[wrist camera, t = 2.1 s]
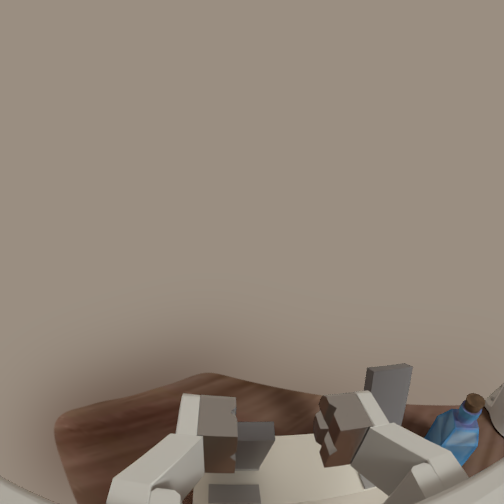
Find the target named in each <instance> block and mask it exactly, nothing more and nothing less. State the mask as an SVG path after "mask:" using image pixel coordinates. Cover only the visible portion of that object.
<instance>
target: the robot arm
mask: <svg viewBox="0 0 504 504" xmlns="http://www.w3.org/2000/svg"><path fill="white" fill-rule="evenodd" d="M484 406H485V407H486V409H487V410H488V411H489V413H490V417H491V421H492V423H493V425H494V427H495V428H496V429H497V431H498V432H499V433H500V434H501V435H502V436H504V383H503V384H502V385H501V386H500V387H499V388H498V389H497V390H496V391H494V393H492V394H491V395H490V396H489V397H488V398H487V399H486V400H485V405H484ZM319 407H320V411H319V412H318V413H317V414H316V415H315V418H314V422H313V432H314V437H315V441H316V442H317V443H318V444H320V445H321V449H320V451H319V453H320V456H321V459H322V462H323V465H324V468H327V467H335V466H342V465H349V464H351V465H350V466H351V467H353V468H354V469H355V470H356V471H357V472H359V473H360V474H361V475H362V476H364V477H365V478H366V479H367V480H368V481H370V482H371V483H372V484H374V485H375V486H376V487H377V488H379V489H380V490H381V491H383V492H384V493H385V494H386V495H388V496H389V497H388V498H387V499H386V500H385V502H384V503H383V504H504V458H502V459H501V460H499V461H497V462H496V463H494V464H493V465H491V466H489V467H488V468H486V469H484V470H483V471H481V472H479V473H477V474H476V475H474V476H472V477H470V478H469V477H468V476H467V474H466V473H465V471H464V470H463V468H462V467H461V465H460V464H459V462H458V461H457V459H456V458H455V456H454V455H453V454H452V452H451V451H449V450H447V449H445V448H443V447H441V446H439V445H437V444H434V443H432V442H430V441H428V440H426V439H424V438H422V437H420V436H418V435H417V434H415V433H413V432H411V431H409V430H407V429H405V428H403V427H401V426H399V425H397V424H396V423H389V421H388V420H387V418H386V416H385V415H384V413H383V411H382V410H381V408H380V407H379V405H378V403H377V402H376V400H375V398H374V397H373V395H372V393H371V392H370V391H368V390H366V391H358V392H353V393H343V394H332V395H323V396H322V397H321V399H320V402H319ZM237 440H238V431H237V418H236V397H223V396H210V395H195V394H185V393H183V395H182V398H181V403H180V409H179V415H178V421H177V427H176V434H172V433H170V434H169V435H168V436H166V437H165V438H164V439H163V440H161V441H160V442H159V443H158V444H157V445H155V446H154V447H153V448H152V449H150V450H149V451H148V452H147V453H145V454H144V455H143V456H141V457H140V458H139V459H138V460H136V461H135V462H134V463H132V464H131V465H130V466H128V467H127V468H126V469H124V470H123V471H122V472H120V473H119V474H118V475H116V476H115V477H114V478H113V480H112V483H111V487H110V490H109V494H108V498H107V501H106V504H182V501H183V499H184V498H185V497H186V496H187V495H188V494H189V492H190V491H191V490H192V489H193V488H194V487H195V485H196V484H197V483H198V482H199V481H200V479H201V478H202V477H203V476H204V475H205V473H235V464H236V456H235V453H236V452H237ZM0 504H58V503H56V502H53V501H51V500H49V499H46V498H44V497H41V496H39V495H37V494H35V493H33V492H30V491H28V490H26V489H24V488H22V487H20V486H18V485H16V484H14V483H12V482H10V481H9V480H6V479H5V478H3V477H1V476H0Z"/></svg>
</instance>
